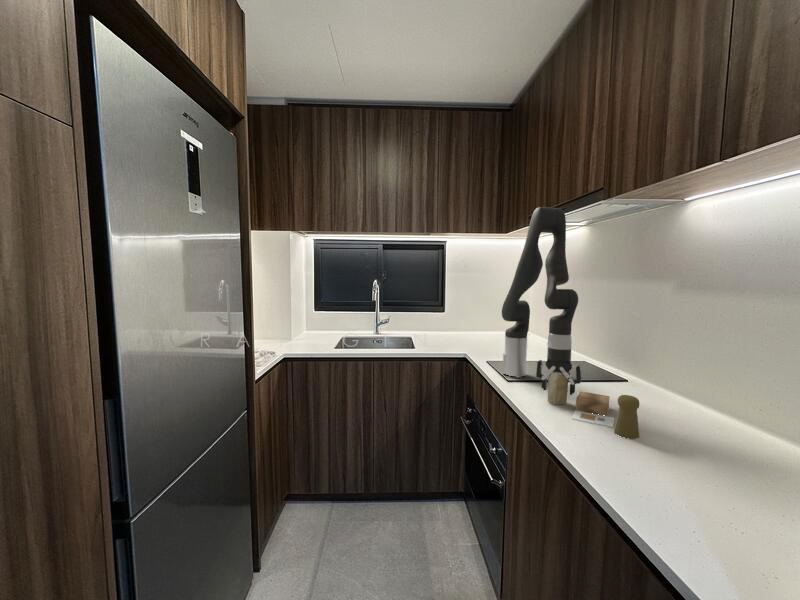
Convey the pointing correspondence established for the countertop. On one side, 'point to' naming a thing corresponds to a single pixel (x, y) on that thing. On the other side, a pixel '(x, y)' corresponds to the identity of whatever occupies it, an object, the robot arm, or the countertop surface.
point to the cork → (627, 417)
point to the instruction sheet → (593, 418)
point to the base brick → (592, 403)
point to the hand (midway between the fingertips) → (557, 392)
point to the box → (557, 388)
